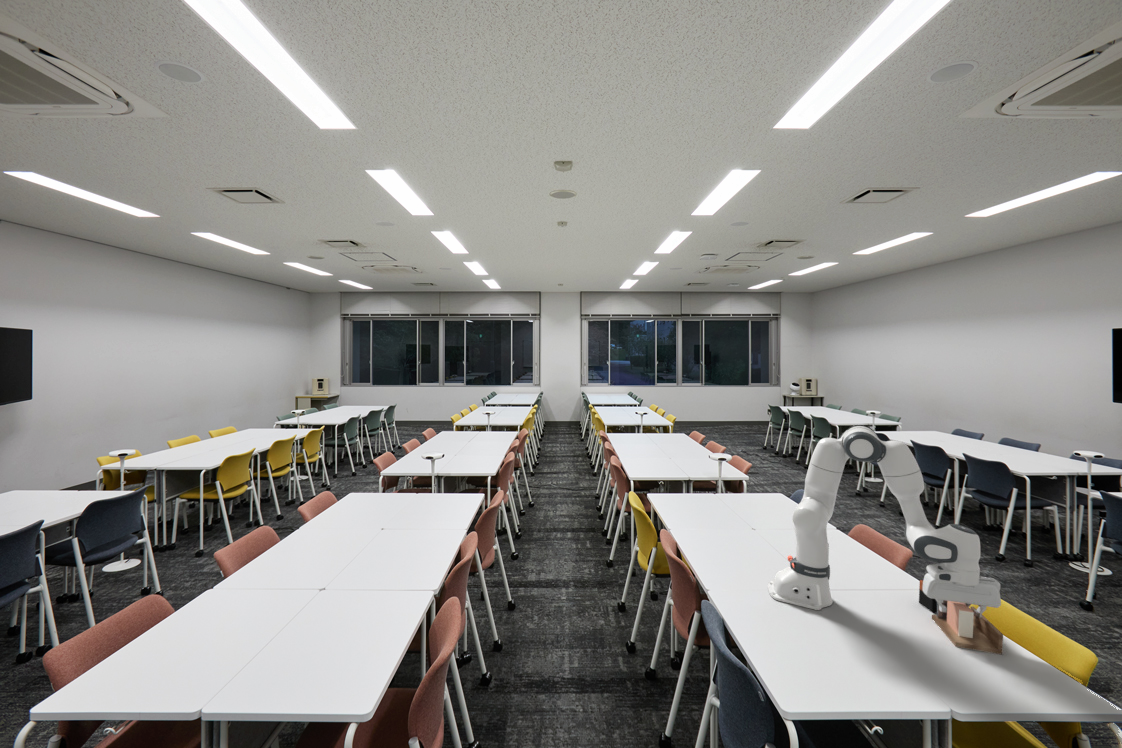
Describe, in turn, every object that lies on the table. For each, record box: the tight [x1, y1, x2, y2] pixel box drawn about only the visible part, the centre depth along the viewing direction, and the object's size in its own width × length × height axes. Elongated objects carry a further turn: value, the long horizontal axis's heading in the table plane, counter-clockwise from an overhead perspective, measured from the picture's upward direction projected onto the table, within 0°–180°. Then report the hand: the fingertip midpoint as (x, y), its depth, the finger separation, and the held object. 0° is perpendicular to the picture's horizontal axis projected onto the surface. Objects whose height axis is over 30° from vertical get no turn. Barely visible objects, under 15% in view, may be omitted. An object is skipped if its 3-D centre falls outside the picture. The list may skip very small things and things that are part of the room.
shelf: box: [931, 606, 1004, 655], centre depth 148 cm, size 12×16×6 cm
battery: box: [918, 579, 937, 614], centre depth 164 cm, size 4×7×10 cm, turn 179°
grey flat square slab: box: [936, 600, 968, 619], centre depth 154 cm, size 8×1×8 cm, turn 71°
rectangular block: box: [947, 601, 974, 638], centre depth 148 cm, size 4×8×9 cm, turn 161°
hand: (959, 614), depth 148 cm, fingers open, 8 cm apart
